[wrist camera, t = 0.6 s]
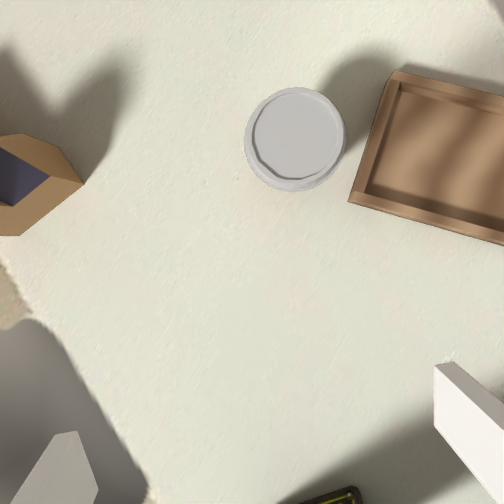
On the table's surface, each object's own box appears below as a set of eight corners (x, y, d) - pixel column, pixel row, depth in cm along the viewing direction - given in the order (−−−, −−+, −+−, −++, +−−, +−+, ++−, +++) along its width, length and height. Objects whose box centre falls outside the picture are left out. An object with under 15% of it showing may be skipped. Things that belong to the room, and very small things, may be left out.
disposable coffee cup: (245, 143, 40) (227, 106, 28) (316, 115, 39) (329, 64, 27) (269, 213, 41) (262, 204, 29) (340, 187, 39) (364, 167, 27)
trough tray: (556, 124, 36) (580, 115, 33) (509, 248, 38) (529, 249, 35) (386, 82, 38) (394, 69, 35) (347, 201, 39) (352, 199, 36)
